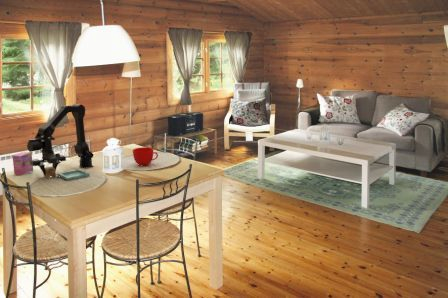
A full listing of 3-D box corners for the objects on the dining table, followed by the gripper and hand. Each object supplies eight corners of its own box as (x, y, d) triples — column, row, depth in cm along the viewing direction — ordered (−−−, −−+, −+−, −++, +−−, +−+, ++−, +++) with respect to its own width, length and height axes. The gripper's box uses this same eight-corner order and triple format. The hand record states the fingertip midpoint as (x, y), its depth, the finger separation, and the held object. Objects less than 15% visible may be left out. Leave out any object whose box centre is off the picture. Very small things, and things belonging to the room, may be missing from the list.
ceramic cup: (152, 168, 262) (152, 152, 260) (129, 166, 268) (128, 150, 266) (163, 163, 274) (162, 148, 272) (140, 161, 280) (139, 146, 278)
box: (22, 175, 250) (20, 155, 247) (14, 174, 251) (11, 155, 248) (33, 170, 260) (31, 151, 257) (25, 170, 261) (23, 151, 258)
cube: (52, 174, 251) (51, 166, 250) (55, 176, 247) (55, 168, 246) (43, 176, 247) (43, 168, 246) (47, 178, 244) (46, 169, 243)
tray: (79, 172, 256) (79, 169, 255) (89, 176, 246) (89, 173, 246) (58, 176, 247) (57, 173, 247) (67, 181, 238) (67, 177, 237)
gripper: (35, 153, 232) (38, 180, 235) (68, 148, 244) (71, 174, 247) (28, 150, 239) (31, 176, 243) (60, 145, 252) (63, 170, 255)
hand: (49, 174), depth 247 cm, fingers closed on cube, 5 cm apart
